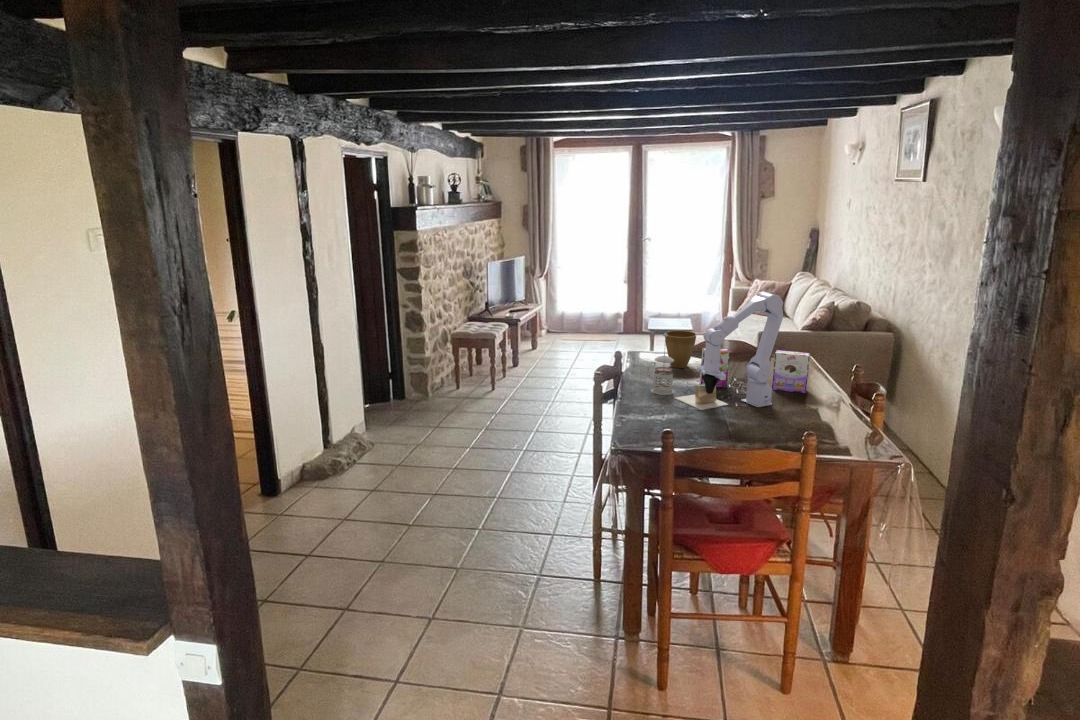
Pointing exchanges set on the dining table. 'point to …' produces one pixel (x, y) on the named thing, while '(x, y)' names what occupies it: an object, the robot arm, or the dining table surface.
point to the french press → (662, 375)
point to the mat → (691, 401)
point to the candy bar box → (722, 366)
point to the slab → (704, 395)
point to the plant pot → (680, 347)
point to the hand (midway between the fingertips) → (709, 393)
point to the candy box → (791, 371)
